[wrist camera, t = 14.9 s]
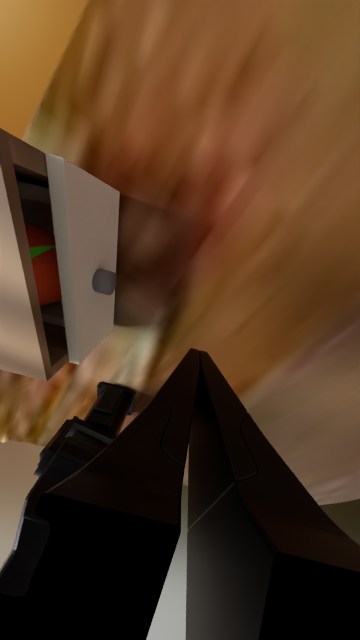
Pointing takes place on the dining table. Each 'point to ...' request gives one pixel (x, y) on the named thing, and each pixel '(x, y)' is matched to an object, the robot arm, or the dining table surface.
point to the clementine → (44, 263)
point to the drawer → (78, 250)
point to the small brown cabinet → (23, 272)
